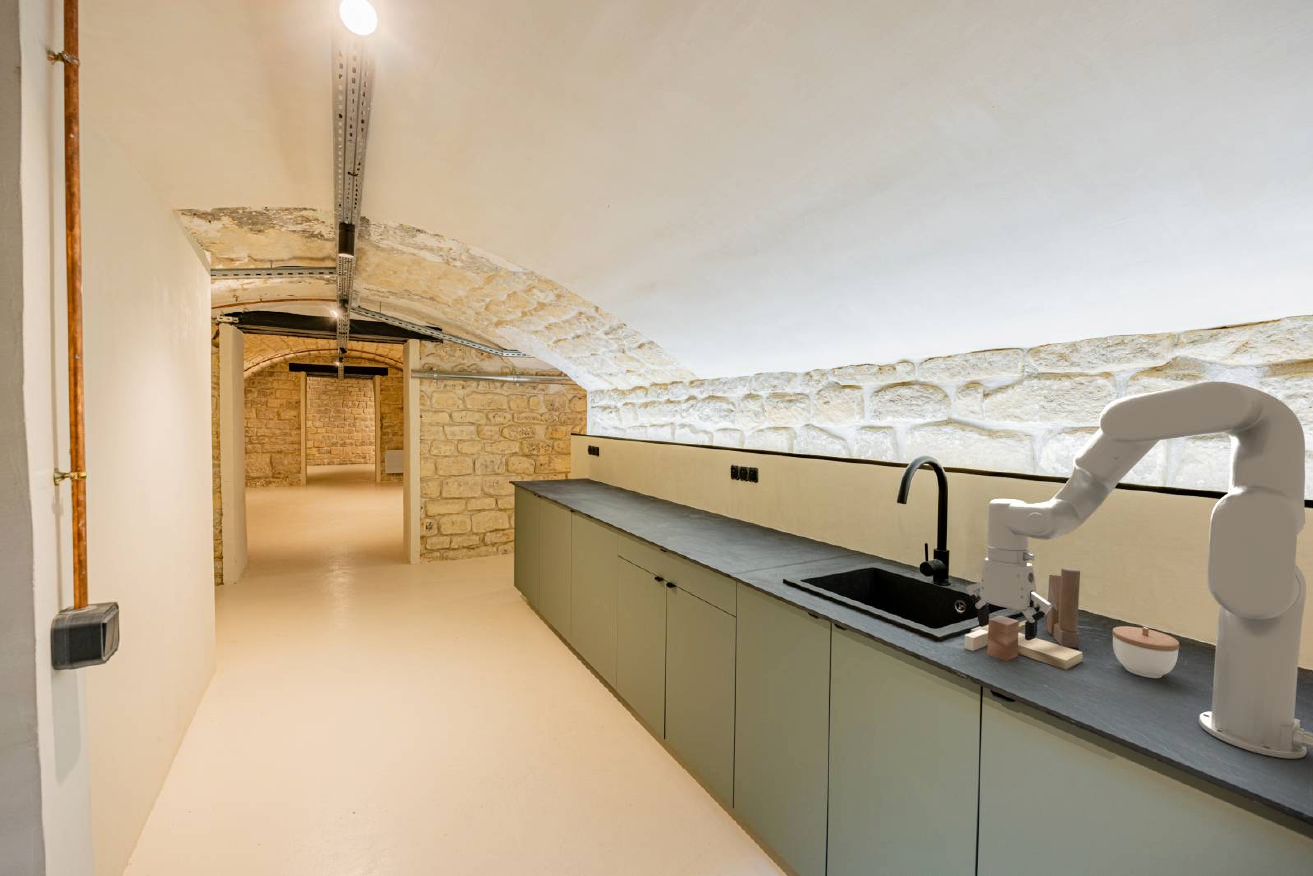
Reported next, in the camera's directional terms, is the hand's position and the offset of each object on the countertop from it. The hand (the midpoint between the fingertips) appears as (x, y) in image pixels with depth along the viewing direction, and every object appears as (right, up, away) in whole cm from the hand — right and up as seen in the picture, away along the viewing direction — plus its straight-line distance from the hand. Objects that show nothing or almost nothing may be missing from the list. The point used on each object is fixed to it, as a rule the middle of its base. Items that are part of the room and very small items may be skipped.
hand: (1006, 632), depth 127 cm
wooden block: (+20, -6, +11) cm, 23 cm away
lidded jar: (+25, -6, -6) cm, 27 cm away
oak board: (+7, -5, +4) cm, 10 cm away
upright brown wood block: (+3, -5, +3) cm, 7 cm away
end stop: (-4, -5, +5) cm, 8 cm away
